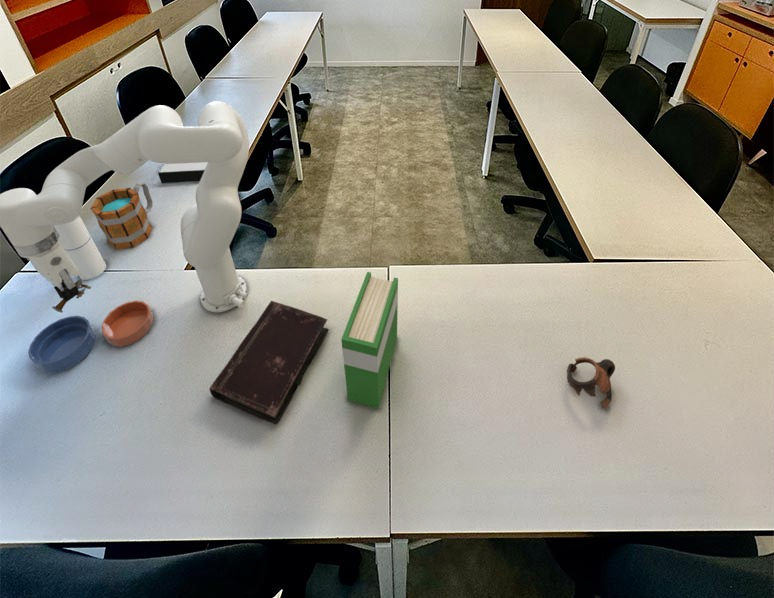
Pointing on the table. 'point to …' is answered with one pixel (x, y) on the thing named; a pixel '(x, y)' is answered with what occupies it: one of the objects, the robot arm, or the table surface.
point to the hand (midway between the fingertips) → (70, 295)
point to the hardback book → (370, 340)
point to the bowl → (62, 344)
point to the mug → (123, 216)
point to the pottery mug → (600, 378)
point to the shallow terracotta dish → (127, 323)
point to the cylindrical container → (81, 248)
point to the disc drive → (182, 172)
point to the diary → (271, 362)
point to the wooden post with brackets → (78, 284)
